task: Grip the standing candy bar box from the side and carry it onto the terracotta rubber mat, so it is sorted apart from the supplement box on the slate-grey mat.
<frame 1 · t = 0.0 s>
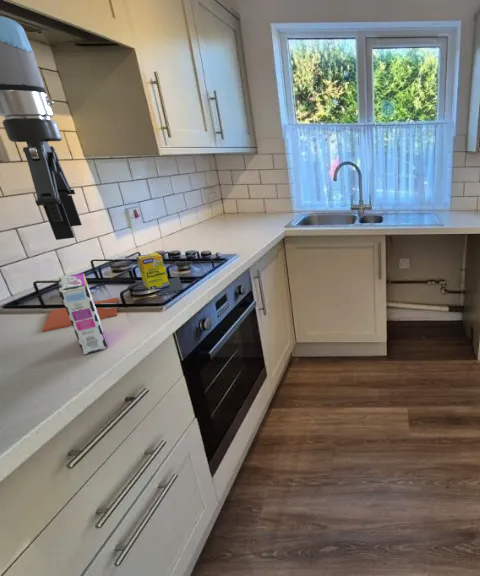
hand: (70, 231, 75), 28 cm above the countertop, tool pointing down, fingers open, 13 cm apart
terracotta mat: (83, 314, 103), on the countertop
candy bar box: (95, 343, 88), on the countertop
slate mat: (158, 289, 120), on the countertop
supplement box: (157, 287, 120), resting on slate mat
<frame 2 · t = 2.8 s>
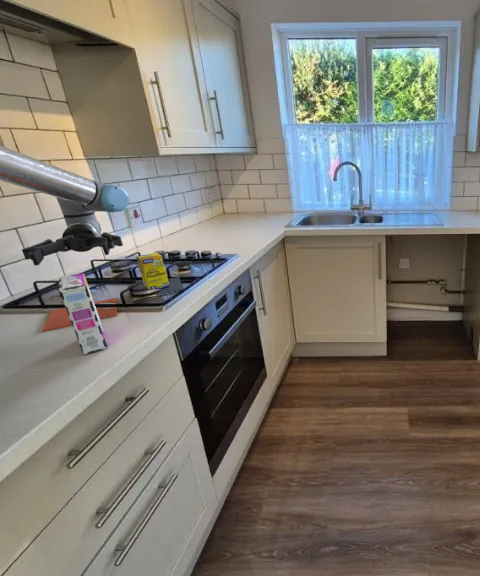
hand: (71, 254, 88), 20 cm above the countertop, tool horizontal, fingers open, 13 cm apart
nothing on the countertop moved.
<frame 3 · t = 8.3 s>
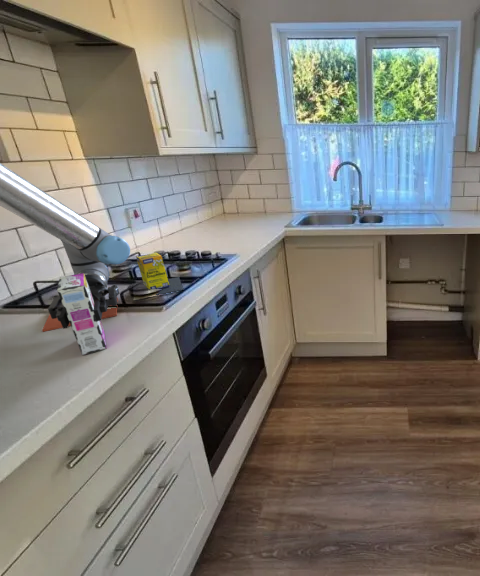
hand: (80, 319, 81), 9 cm above the countertop, tool horizontal, fingers closed on candy bar box, 5 cm apart
candy bar box: (95, 343, 88), on the countertop, touching gripper
everything else where it was.
when the fingers open (10 cm above the countertop, at t = 16.3 s): candy bar box stays where it is, resting on terracotta mat.
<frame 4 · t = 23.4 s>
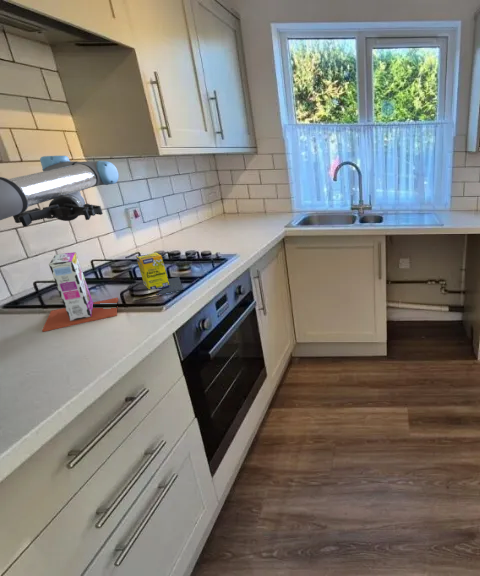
hand: (55, 218, 101), 26 cm above the countertop, tool horizontal, fingers open, 13 cm apart
candy bar box: (83, 312, 103), resting on terracotta mat
everything else where it was.
at the end: candy bar box inside the target area on the terracotta mat (0.1 cm from its centre), point 0.4 cm above the terracotta mat's base; candy bar box tilted 0°; supplement box moved 0.4 cm from its start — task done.
